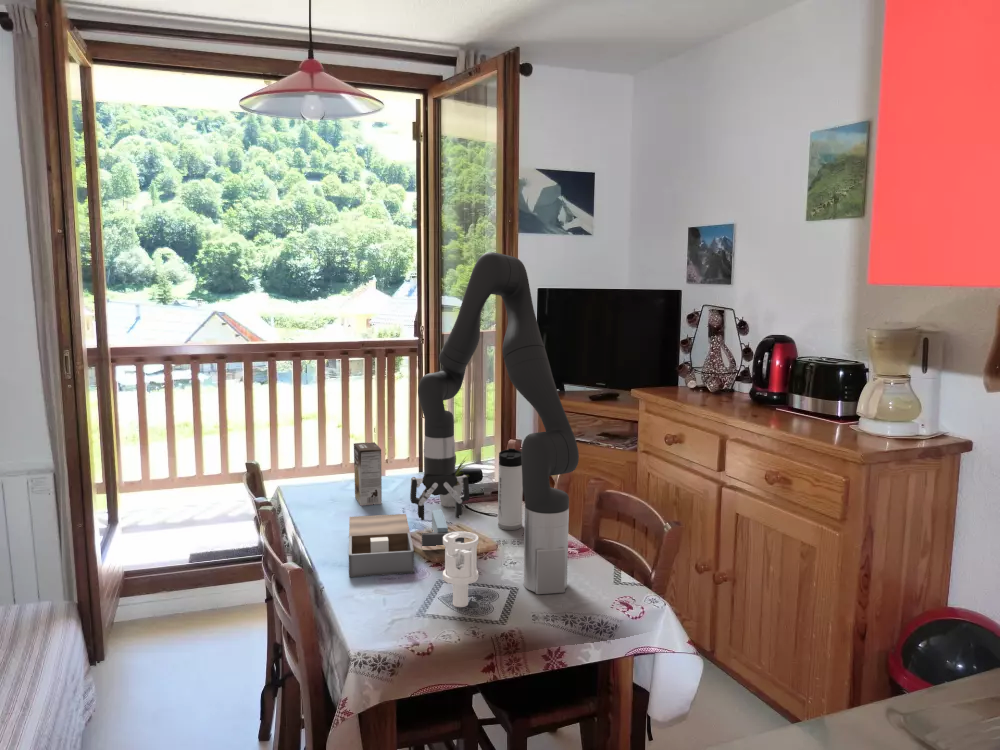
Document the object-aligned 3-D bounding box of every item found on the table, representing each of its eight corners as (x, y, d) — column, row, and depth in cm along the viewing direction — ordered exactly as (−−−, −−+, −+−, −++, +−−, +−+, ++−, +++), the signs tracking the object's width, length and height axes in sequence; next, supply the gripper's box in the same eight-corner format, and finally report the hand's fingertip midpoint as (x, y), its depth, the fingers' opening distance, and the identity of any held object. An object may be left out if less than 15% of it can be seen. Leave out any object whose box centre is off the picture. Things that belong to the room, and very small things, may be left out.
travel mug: (522, 522, 203) (523, 448, 200) (521, 530, 197) (522, 454, 194) (499, 521, 204) (500, 447, 201) (496, 529, 197) (497, 453, 194)
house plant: (414, 499, 222) (414, 444, 220) (458, 493, 228) (458, 439, 226) (433, 513, 210) (433, 455, 207) (479, 506, 216) (479, 450, 214)
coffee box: (354, 497, 224) (353, 443, 222) (375, 495, 226) (375, 441, 224) (359, 506, 215) (358, 450, 213) (382, 504, 218) (381, 448, 215)
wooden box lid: (410, 553, 181) (410, 532, 180) (349, 556, 178) (349, 536, 177) (406, 533, 194) (406, 513, 193) (349, 536, 192) (349, 516, 191)
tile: (387, 553, 179) (388, 557, 176) (370, 554, 178) (371, 558, 176) (387, 536, 178) (388, 540, 176) (370, 537, 177) (370, 541, 175)
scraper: (464, 548, 184) (464, 528, 183) (422, 551, 182) (422, 531, 181) (455, 527, 199) (455, 508, 198) (417, 529, 197) (417, 510, 197)
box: (414, 573, 169) (413, 551, 168) (349, 577, 166) (348, 555, 166) (410, 553, 181) (410, 532, 180) (349, 556, 178) (349, 536, 177)
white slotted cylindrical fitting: (435, 605, 153) (435, 533, 151) (457, 593, 159) (457, 523, 157) (464, 614, 149) (464, 540, 147) (485, 601, 155) (485, 530, 153)
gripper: (411, 458, 181) (412, 525, 183) (471, 456, 184) (471, 521, 186) (408, 451, 188) (409, 515, 190) (466, 449, 191) (466, 512, 193)
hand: (440, 518), depth 188 cm, fingers open, 8 cm apart
